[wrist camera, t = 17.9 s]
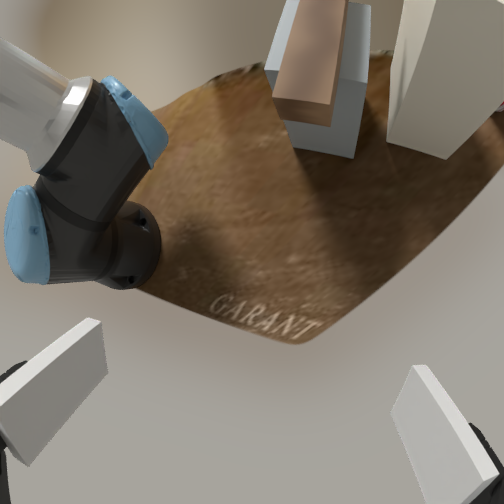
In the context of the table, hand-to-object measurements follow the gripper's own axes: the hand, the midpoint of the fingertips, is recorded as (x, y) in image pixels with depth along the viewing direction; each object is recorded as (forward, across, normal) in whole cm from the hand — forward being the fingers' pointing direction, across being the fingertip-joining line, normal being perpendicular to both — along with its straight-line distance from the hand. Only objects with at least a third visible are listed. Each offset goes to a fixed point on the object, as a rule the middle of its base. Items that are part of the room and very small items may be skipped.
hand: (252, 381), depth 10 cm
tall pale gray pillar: (+34, +6, +20) cm, 40 cm away
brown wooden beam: (+15, +3, +24) cm, 28 cm away
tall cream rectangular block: (+31, +21, +24) cm, 45 cm away
